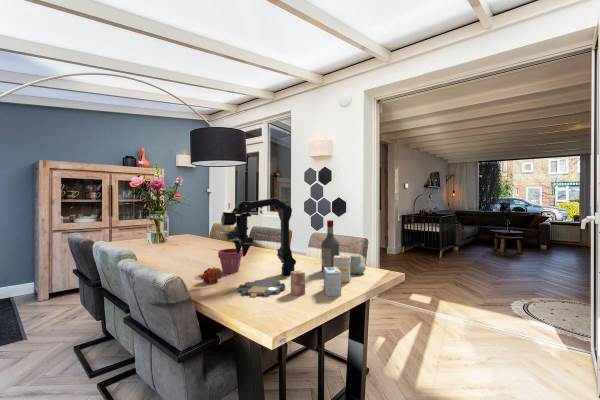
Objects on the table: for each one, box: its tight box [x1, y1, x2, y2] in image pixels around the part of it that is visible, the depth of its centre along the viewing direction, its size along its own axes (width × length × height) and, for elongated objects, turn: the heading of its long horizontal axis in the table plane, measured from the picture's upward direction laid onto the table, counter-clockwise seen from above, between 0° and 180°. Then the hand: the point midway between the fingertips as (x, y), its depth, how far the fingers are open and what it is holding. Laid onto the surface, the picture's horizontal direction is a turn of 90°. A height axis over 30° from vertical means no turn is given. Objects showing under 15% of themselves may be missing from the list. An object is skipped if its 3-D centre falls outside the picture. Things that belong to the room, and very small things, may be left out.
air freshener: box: [350, 254, 367, 275], centre depth 179 cm, size 11×8×10 cm
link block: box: [290, 269, 306, 297], centre depth 144 cm, size 5×5×10 cm
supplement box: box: [333, 255, 351, 283], centre depth 163 cm, size 8×5×13 cm, turn 71°
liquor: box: [321, 219, 340, 273], centre depth 183 cm, size 9×9×30 cm
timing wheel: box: [237, 279, 286, 298], centre depth 151 cm, size 23×23×1 cm
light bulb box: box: [323, 267, 342, 297], centre depth 145 cm, size 11×7×11 cm, turn 5°
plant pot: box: [217, 248, 244, 275], centre depth 185 cm, size 14×14×13 cm
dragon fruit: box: [200, 266, 223, 284], centre depth 164 cm, size 8×8×12 cm
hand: (240, 254), depth 163 cm, fingers open, 9 cm apart
